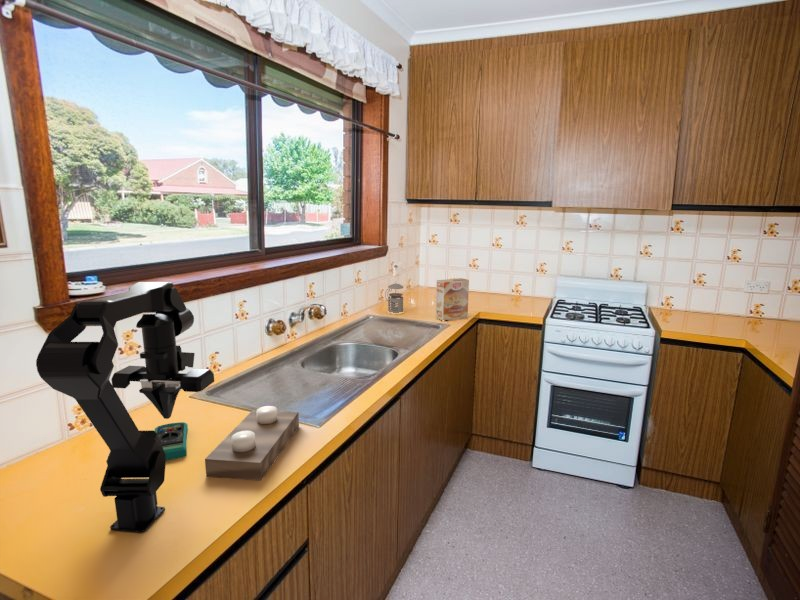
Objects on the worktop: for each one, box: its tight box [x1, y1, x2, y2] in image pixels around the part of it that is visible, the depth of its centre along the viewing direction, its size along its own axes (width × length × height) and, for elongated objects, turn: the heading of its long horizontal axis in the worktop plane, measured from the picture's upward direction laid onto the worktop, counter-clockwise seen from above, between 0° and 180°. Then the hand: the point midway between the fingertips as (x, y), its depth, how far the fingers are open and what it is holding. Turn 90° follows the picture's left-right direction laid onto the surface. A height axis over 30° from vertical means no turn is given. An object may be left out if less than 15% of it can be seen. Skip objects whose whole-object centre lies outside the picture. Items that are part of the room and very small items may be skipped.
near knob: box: [232, 431, 255, 452], centre depth 102 cm, size 5×5×7 cm
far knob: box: [256, 405, 278, 424], centre depth 115 cm, size 5×5×7 cm
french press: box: [384, 264, 404, 313], centre depth 244 cm, size 10×12×25 cm
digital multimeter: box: [154, 422, 189, 462], centre depth 111 cm, size 7×15×3 cm, turn 23°
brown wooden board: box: [204, 409, 300, 481], centre depth 109 cm, size 24×12×4 cm, turn 173°
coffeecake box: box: [435, 277, 470, 322], centre depth 231 cm, size 15×7×20 cm, turn 119°
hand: (167, 417), depth 96 cm, fingers closed
